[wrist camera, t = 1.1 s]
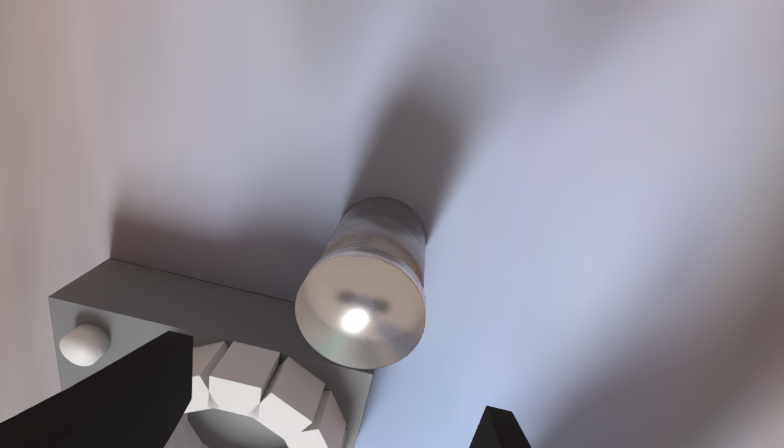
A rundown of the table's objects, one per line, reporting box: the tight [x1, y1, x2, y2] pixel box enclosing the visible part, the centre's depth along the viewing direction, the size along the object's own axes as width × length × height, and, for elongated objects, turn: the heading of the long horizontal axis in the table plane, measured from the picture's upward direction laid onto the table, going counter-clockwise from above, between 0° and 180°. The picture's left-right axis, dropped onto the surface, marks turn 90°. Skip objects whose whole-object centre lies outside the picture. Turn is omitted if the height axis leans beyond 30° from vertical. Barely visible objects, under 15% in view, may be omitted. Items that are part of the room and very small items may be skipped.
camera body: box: [48, 259, 374, 448], centre depth 20 cm, size 14×9×6 cm, turn 78°
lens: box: [295, 197, 426, 369], centre depth 16 cm, size 4×4×6 cm
